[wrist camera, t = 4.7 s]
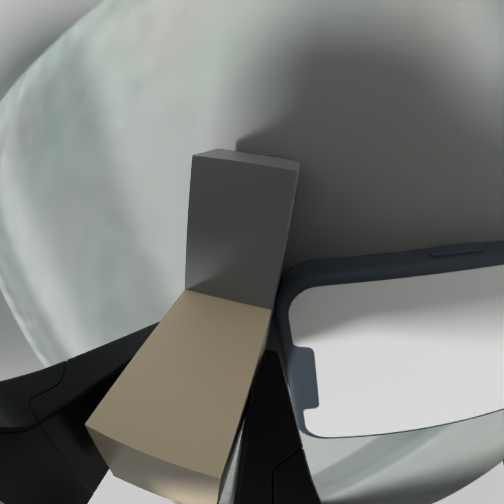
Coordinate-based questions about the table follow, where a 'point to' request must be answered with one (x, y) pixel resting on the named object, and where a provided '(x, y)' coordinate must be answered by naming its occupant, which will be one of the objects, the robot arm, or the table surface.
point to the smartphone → (394, 339)
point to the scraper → (204, 335)
